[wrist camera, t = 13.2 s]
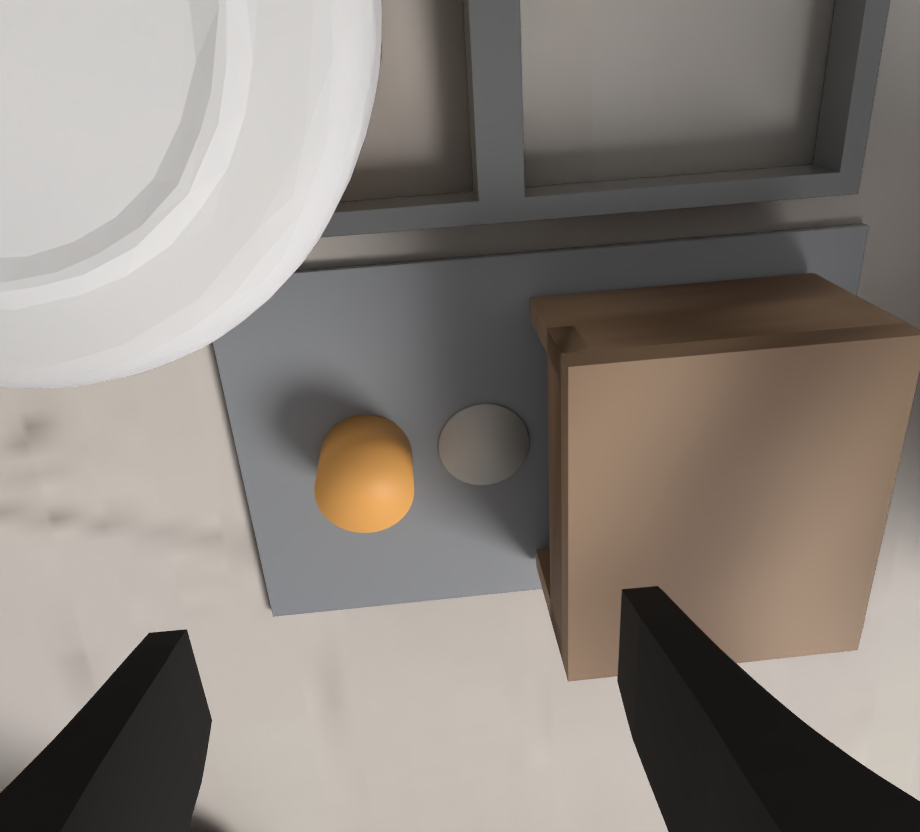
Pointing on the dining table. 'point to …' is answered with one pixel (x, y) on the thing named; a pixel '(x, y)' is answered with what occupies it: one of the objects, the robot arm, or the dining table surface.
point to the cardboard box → (720, 460)
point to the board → (434, 409)
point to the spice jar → (166, 170)
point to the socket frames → (507, 200)
